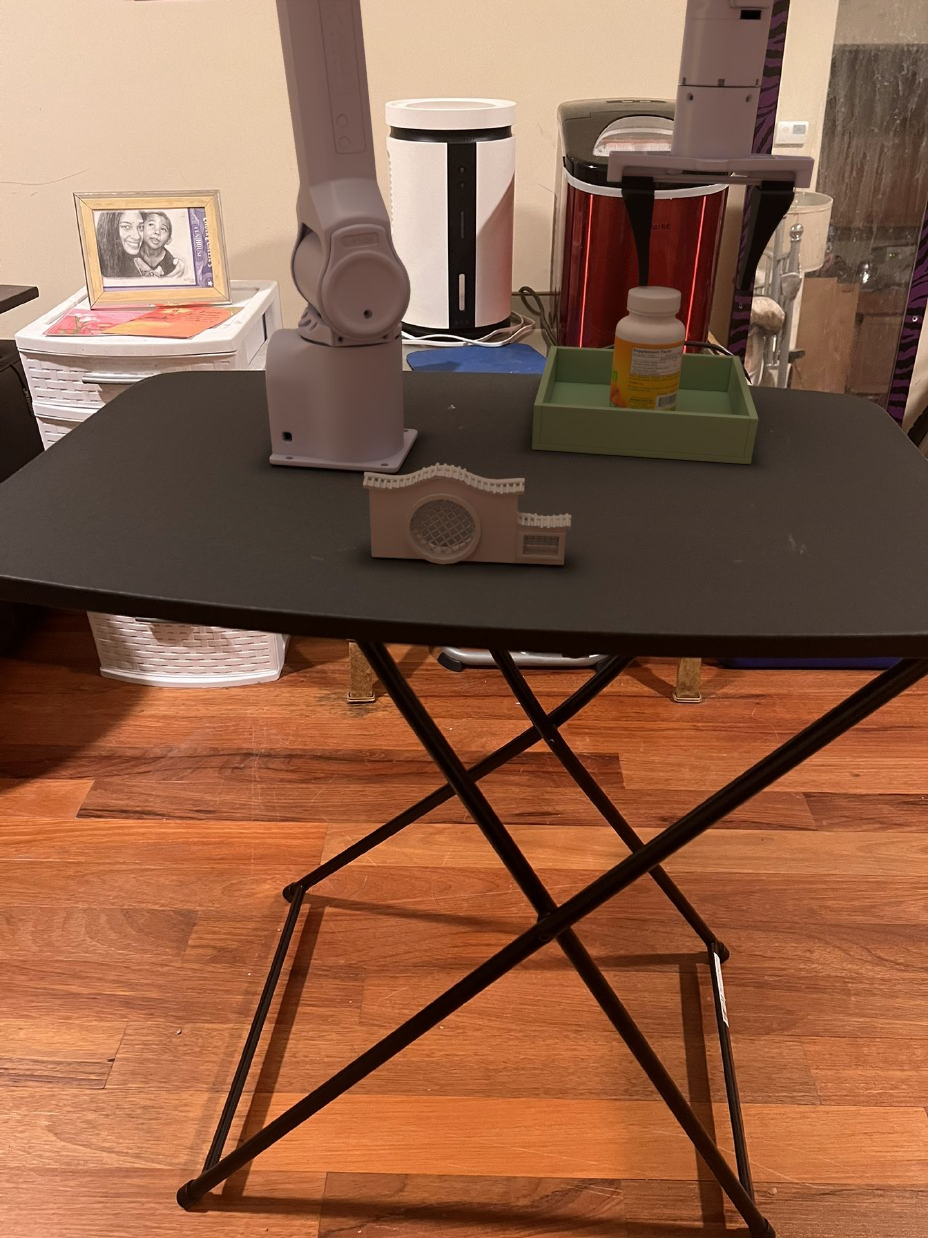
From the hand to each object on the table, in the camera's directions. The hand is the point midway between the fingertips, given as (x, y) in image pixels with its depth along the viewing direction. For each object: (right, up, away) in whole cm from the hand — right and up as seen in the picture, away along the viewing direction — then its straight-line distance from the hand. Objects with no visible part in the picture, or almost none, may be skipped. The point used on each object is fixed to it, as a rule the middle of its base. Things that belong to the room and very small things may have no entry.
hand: (692, 285), depth 75 cm
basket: (-3, -10, +4) cm, 11 cm away
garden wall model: (-18, -22, -17) cm, 33 cm away
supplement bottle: (-3, -9, +4) cm, 11 cm away
